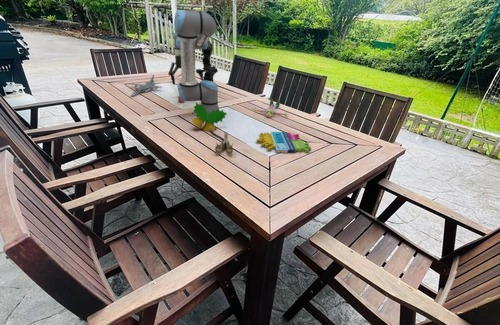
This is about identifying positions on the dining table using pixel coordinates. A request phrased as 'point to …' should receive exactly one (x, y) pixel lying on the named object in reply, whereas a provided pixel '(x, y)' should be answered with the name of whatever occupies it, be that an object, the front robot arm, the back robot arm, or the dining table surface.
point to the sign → (283, 142)
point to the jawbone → (224, 145)
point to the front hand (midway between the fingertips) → (181, 83)
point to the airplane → (145, 87)
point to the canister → (180, 100)
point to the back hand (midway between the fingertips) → (207, 80)
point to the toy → (271, 109)
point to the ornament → (207, 117)
